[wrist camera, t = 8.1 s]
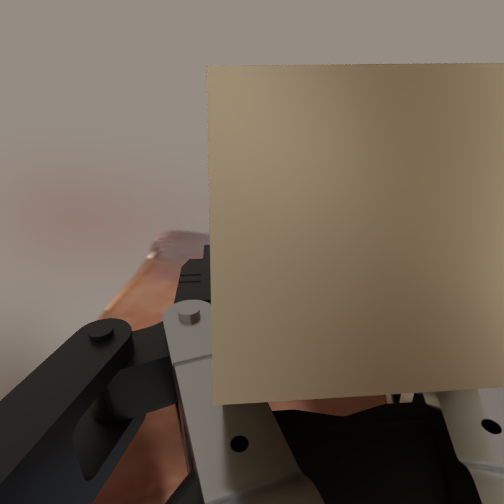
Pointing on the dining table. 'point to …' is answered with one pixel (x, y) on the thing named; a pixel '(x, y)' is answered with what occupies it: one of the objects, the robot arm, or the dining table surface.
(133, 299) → the dining table surface
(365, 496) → the robot arm
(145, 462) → the dining table surface
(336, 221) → the rail
